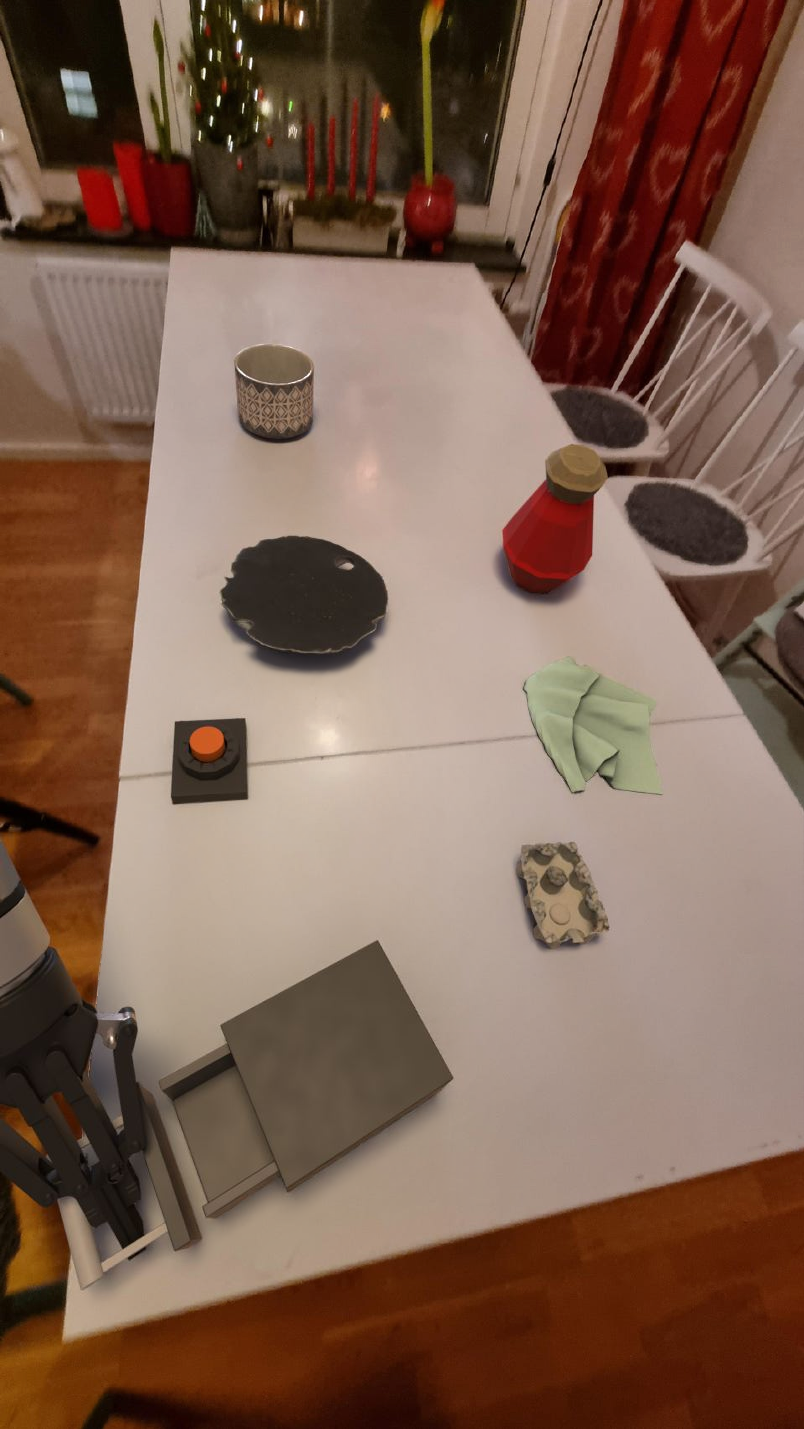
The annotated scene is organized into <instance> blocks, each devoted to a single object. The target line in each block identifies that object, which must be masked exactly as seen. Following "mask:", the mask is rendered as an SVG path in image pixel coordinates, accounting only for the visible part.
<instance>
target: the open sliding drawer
mask: <svg viewBox="0 0 804 1429" xmlns="http://www.w3.org/2000/svg"><path fill="white" fill-rule="evenodd" d="M136 1084H137V1090H138V1097H139V1104H140V1110H141V1117H142V1124H143V1130H144V1137H145V1147H144V1149H143V1150H142V1151H141V1153H142V1155H143V1157H144V1162H145V1164H146V1167H147V1170H148V1173H149V1174H148V1175H149V1177H150V1180H151V1183H152V1186H153V1189H154V1193H155V1195H156V1198H157V1201H158V1205H159V1208H160V1211H161V1214H162V1217H163V1220H164V1222H163V1223H162V1224H160V1225H158V1226H157V1227H155V1228H154V1229H152V1230H151V1231H149V1232H148V1233H145V1235H144V1236H143V1237H141V1238H140V1239H138V1240H137V1241H135V1242H133V1243H132V1244H130V1245H129V1246H127V1247H126V1248H124V1249H122V1248H121V1249H120V1250H119V1251H117V1252H115V1254H113V1255H111V1256H110V1257H107V1258H106V1259H105V1260H104V1261H103V1260H102V1258H101V1255H100V1252H99V1248H98V1244H97V1240H96V1237H95V1236H96V1235H95V1233H94V1230H93V1226H91V1225H90V1224H89V1222H88V1220H87V1218H86V1217H85V1214H84V1213H83V1211H82V1209H81V1208H80V1206H79V1204H78V1202H77V1200H76V1199H75V1198H73V1197H71V1196H67V1197H62V1198H59V1199H58V1200H57V1201H56V1202H57V1204H58V1208H59V1212H60V1215H61V1219H62V1224H63V1227H64V1231H65V1235H66V1240H67V1243H68V1247H69V1252H70V1254H71V1258H72V1263H73V1266H74V1270H75V1274H76V1278H77V1281H78V1285H79V1289H80V1291H84V1290H86V1289H88V1288H89V1287H91V1286H93V1285H94V1284H96V1283H97V1282H99V1281H100V1280H102V1279H103V1278H105V1276H106V1272H108V1271H110V1270H111V1269H113V1268H115V1267H116V1266H118V1265H119V1264H121V1263H122V1262H123V1261H125V1260H126V1259H127V1260H128V1257H130V1256H131V1255H133V1254H134V1253H136V1252H137V1251H139V1250H141V1249H142V1248H144V1247H145V1246H146V1247H147V1246H149V1245H150V1244H152V1243H153V1242H155V1241H156V1240H158V1239H159V1238H161V1237H162V1236H165V1234H167V1233H168V1235H169V1239H170V1242H171V1245H172V1248H173V1251H174V1252H177V1251H182V1250H186V1249H189V1248H191V1247H192V1246H194V1245H195V1244H197V1243H198V1242H200V1241H201V1240H202V1238H203V1237H202V1235H201V1232H200V1229H199V1226H198V1223H197V1220H196V1217H195V1215H194V1211H193V1208H192V1206H191V1203H190V1199H189V1197H188V1194H187V1191H186V1188H185V1185H184V1182H183V1179H182V1177H181V1173H180V1170H179V1167H178V1163H177V1161H176V1159H175V1155H174V1153H173V1149H172V1147H171V1143H170V1141H169V1138H168V1134H167V1131H166V1129H165V1126H164V1124H163V1121H162V1116H161V1114H160V1112H159V1109H158V1106H157V1103H156V1100H155V1097H154V1094H153V1093H152V1092H151V1091H150V1090H148V1089H147V1088H146V1087H145V1086H143V1084H141V1083H140V1082H139V1081H136ZM158 1085H159V1089H160V1090H161V1092H162V1093H163V1094H164V1095H166V1097H167V1098H169V1099H170V1101H171V1102H172V1105H173V1107H174V1110H175V1114H176V1116H177V1119H178V1121H179V1125H180V1127H181V1131H182V1133H183V1136H184V1139H185V1142H186V1144H187V1147H188V1148H187V1149H188V1151H189V1153H190V1156H191V1158H192V1162H193V1164H194V1167H195V1170H196V1173H197V1176H198V1178H199V1182H200V1184H201V1188H202V1190H203V1193H204V1195H205V1198H206V1202H207V1203H205V1204H203V1205H202V1206H201V1207H202V1211H203V1214H204V1217H205V1218H206V1219H216V1218H218V1217H220V1216H221V1215H222V1214H224V1213H225V1212H227V1211H228V1210H230V1209H232V1208H233V1207H235V1206H236V1205H238V1204H239V1203H241V1202H243V1201H244V1200H246V1199H247V1198H249V1197H250V1196H252V1195H253V1194H255V1193H256V1192H259V1190H262V1189H263V1188H264V1187H265V1186H266V1187H267V1185H270V1183H272V1182H273V1181H275V1180H277V1179H278V1178H280V1177H281V1175H280V1172H279V1170H278V1167H277V1165H276V1162H275V1160H274V1158H273V1155H272V1153H271V1150H270V1148H269V1145H268V1143H267V1140H266V1138H265V1135H264V1133H263V1130H262V1128H261V1125H260V1123H259V1121H258V1118H257V1116H256V1113H255V1111H254V1108H253V1106H252V1103H251V1101H250V1098H249V1096H248V1093H247V1091H246V1088H245V1086H244V1084H243V1081H242V1079H241V1076H240V1074H239V1071H238V1069H237V1066H236V1064H235V1061H234V1059H233V1056H232V1054H231V1051H230V1049H229V1046H228V1044H227V1043H224V1044H223V1045H221V1046H219V1047H218V1048H216V1049H214V1050H212V1051H210V1052H209V1053H207V1054H205V1055H203V1056H201V1057H199V1058H197V1059H196V1060H194V1061H192V1062H190V1063H189V1064H187V1065H185V1066H183V1067H181V1068H180V1069H178V1070H176V1071H174V1072H173V1073H171V1074H168V1075H167V1076H165V1077H163V1078H162V1079H160V1080H158ZM111 1122H112V1124H113V1126H114V1128H115V1130H116V1131H117V1130H118V1129H120V1128H122V1127H124V1125H123V1118H122V1115H121V1116H119V1117H116V1118H115V1119H113V1120H111ZM77 1142H78V1144H79V1146H80V1147H81V1149H82V1150H84V1149H85V1148H86V1147H88V1146H91V1144H90V1142H89V1140H88V1138H87V1136H86V1135H85V1136H83V1137H82V1138H80V1139H78V1140H77ZM45 1157H46V1158H47V1159H48V1160H49V1161H51V1160H50V1158H49V1156H48V1155H47V1154H46V1155H45Z"/></svg>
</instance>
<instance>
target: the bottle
mask: <svg viewBox="0 0 804 1429" xmlns="http://www.w3.org/2000/svg"><path fill="white" fill-rule="evenodd" d="M544 464H545V465H544V466H545V479H544V480H543V481H542V483H541V484H540V485H539V486H538V487H537V488H536V490H535V491H534V492H533V493H532V494H531V495H530V496H529V497H528V498H527V500H526V501H525V502H523V504H522V506H520V508H519V509H518V510H517V511H516V512H515V513H514V514H513V516H512V517H511V518H510V520H509V521H508V522H507V523H506V524H505V526H504V527H503V529H502V530H501V531H502V545H503V546H502V547H503V552H504V555H505V559H506V563H507V567H508V571H509V574H510V577H511V579H512V581H513V583H514V584H515V586H516V587H517V588H519V589H522V590H524V591H525V592H527V593H529V594H531V595H544V596H545V595H550V594H551V593H552V592H554V591H557V589H559V588H561V587H562V586H563V585H565V584H566V583H567V582H569V581H570V580H572V579H574V578H575V577H576V576H578V575H579V574H580V573H582V572H584V570H585V569H586V567H587V565H588V563H589V562H590V560H591V558H592V557H593V548H594V547H593V546H594V545H593V544H594V510H595V509H594V508H595V495H596V494H597V493H598V492H599V490H601V489H602V487H603V486H604V485H605V483H606V482H607V480H608V479H609V477H608V472H607V468H606V465H605V464H604V462H603V460H602V459H601V457H600V456H599V454H598V453H597V451H596V450H594V449H593V448H590V447H588V446H586V445H584V444H574V443H571V444H568V445H566V446H563V447H560V448H558V449H556V450H554V451H551V453H550V454H549V455H548V457H547V458H546V459H545V460H544Z"/></svg>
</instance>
